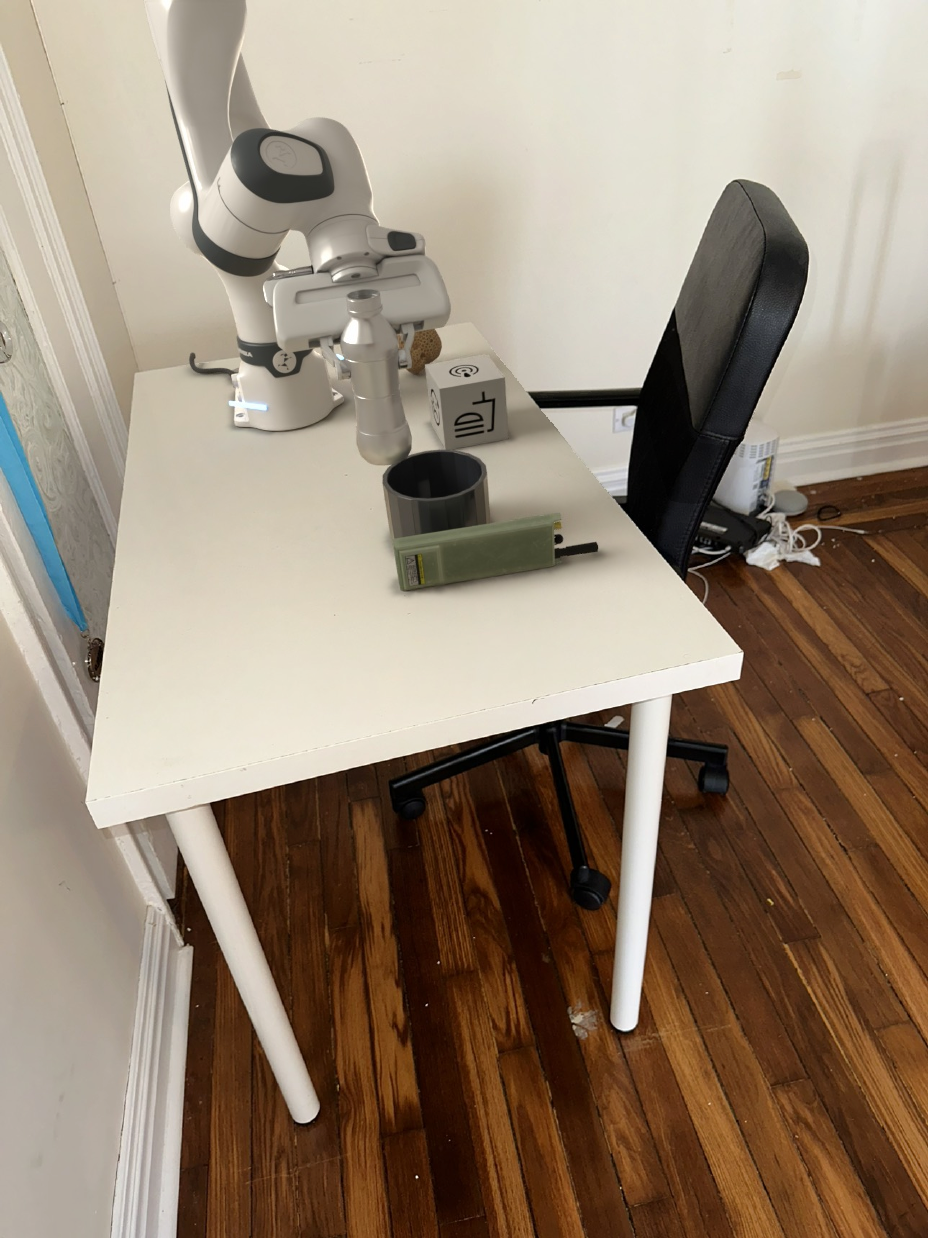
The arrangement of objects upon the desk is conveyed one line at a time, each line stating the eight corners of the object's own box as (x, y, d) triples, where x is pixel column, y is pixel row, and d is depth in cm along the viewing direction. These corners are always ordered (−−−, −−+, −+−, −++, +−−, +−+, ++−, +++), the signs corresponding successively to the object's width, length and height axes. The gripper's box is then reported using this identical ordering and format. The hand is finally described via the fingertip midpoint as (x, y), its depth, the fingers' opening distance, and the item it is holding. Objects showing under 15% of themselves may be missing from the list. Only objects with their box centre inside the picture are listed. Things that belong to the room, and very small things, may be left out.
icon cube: (508, 438, 142) (504, 377, 136) (445, 450, 140) (439, 388, 134) (491, 413, 149) (487, 353, 143) (431, 423, 148) (424, 364, 142)
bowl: (378, 523, 125) (369, 464, 119) (469, 499, 128) (464, 441, 122) (409, 572, 115) (401, 510, 109) (506, 545, 118) (503, 483, 112)
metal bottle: (406, 473, 108) (385, 304, 96) (352, 471, 110) (324, 304, 98) (419, 447, 113) (400, 283, 101) (367, 446, 115) (342, 284, 103)
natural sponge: (432, 358, 170) (426, 304, 164) (452, 373, 163) (447, 318, 157) (386, 369, 167) (379, 315, 161) (405, 386, 161) (398, 330, 155)
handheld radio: (398, 579, 114) (593, 547, 116) (401, 595, 111) (601, 562, 113) (391, 534, 109) (594, 502, 112) (394, 550, 107) (602, 516, 109)
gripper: (256, 258, 101) (282, 376, 99) (436, 232, 104) (464, 345, 103) (262, 287, 107) (286, 398, 106) (431, 261, 110) (457, 369, 109)
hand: (375, 372), depth 104 cm, fingers closed on metal bottle, 6 cm apart
